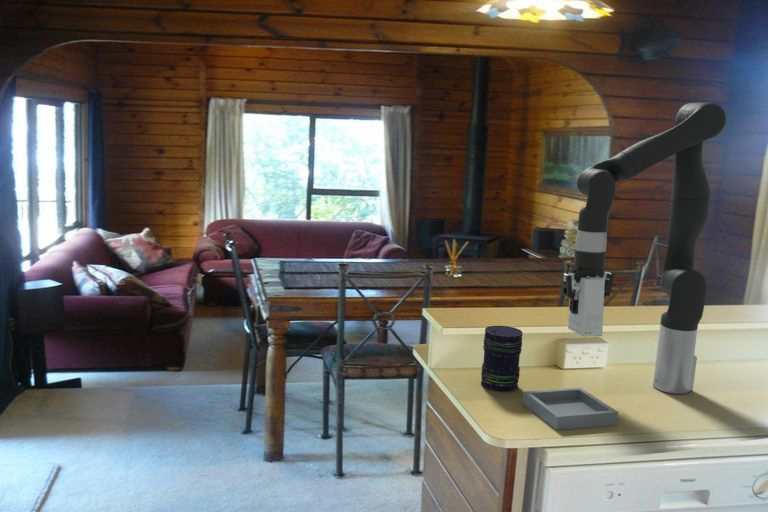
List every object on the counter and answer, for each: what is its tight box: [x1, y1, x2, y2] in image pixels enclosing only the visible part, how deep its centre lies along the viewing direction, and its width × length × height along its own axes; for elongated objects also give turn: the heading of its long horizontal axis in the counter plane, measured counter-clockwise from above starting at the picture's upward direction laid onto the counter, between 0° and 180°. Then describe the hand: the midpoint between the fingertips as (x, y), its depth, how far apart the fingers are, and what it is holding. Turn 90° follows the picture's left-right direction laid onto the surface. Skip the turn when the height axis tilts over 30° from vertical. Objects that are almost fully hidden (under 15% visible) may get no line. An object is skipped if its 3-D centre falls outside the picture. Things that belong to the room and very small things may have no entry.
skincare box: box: [567, 277, 605, 337], centre depth 190 cm, size 8×6×15 cm
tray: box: [522, 387, 619, 431], centre depth 177 cm, size 16×16×3 cm
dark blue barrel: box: [480, 325, 524, 393], centre depth 194 cm, size 10×10×15 cm
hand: (585, 312), depth 190 cm, fingers closed on skincare box, 6 cm apart
